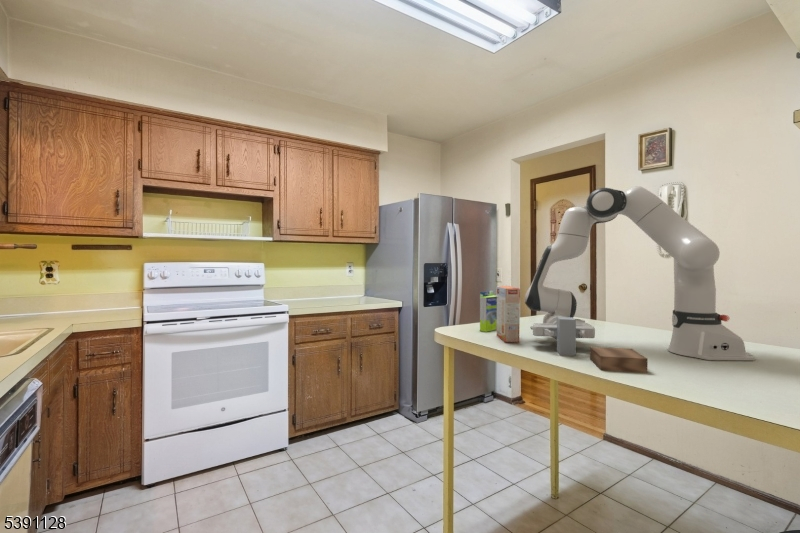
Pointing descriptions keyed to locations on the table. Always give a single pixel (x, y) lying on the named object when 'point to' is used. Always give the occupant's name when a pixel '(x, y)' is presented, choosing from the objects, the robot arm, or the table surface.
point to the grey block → (566, 336)
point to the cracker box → (508, 313)
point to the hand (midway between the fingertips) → (566, 334)
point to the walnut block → (618, 359)
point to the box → (488, 311)
